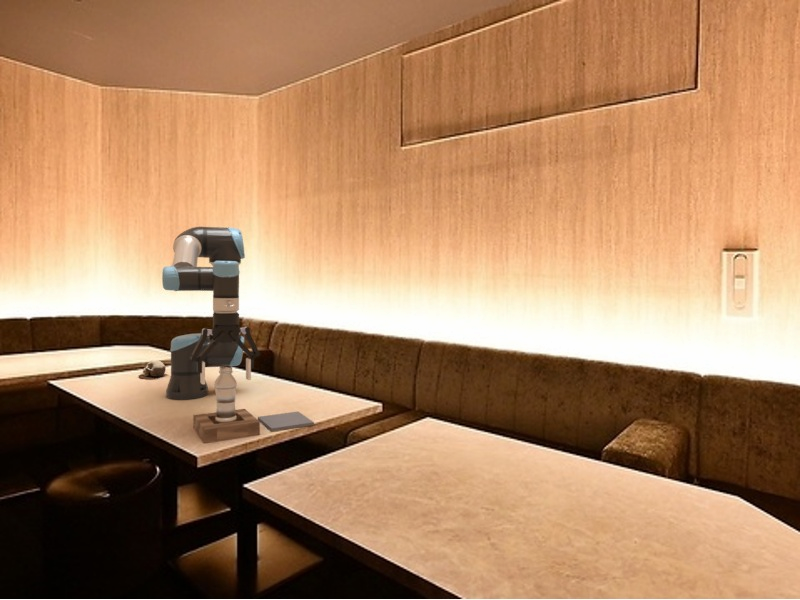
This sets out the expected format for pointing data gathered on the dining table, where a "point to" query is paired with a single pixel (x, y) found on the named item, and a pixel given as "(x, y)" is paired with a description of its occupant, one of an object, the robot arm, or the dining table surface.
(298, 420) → the charcoal mat
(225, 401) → the plastic bottle
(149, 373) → the skull
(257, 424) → the walnut block
